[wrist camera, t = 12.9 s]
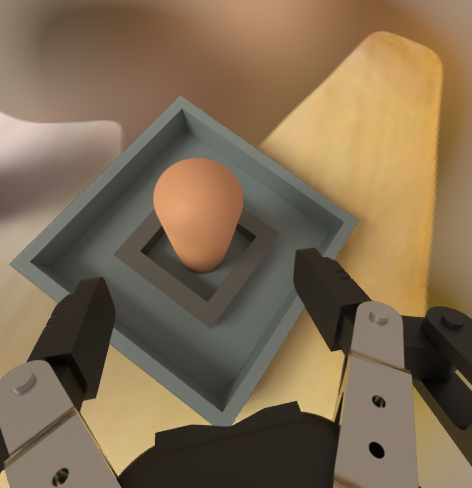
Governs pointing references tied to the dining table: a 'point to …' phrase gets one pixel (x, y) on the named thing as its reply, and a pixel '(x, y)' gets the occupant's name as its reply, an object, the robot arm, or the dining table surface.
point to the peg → (199, 211)
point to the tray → (177, 276)
